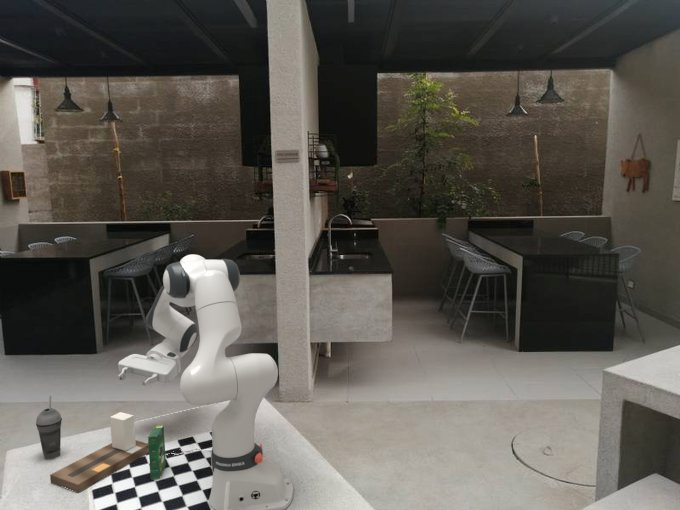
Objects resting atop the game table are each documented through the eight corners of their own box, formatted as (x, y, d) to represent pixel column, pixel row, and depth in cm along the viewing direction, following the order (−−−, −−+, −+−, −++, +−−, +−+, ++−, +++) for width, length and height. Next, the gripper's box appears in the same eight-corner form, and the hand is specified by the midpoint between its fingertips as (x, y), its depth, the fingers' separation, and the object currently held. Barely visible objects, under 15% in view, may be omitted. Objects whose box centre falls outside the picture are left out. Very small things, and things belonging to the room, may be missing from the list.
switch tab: (122, 441, 172) (120, 412, 171) (135, 445, 170) (133, 415, 168) (112, 447, 169) (109, 416, 168) (125, 450, 166) (123, 420, 165)
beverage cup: (47, 450, 173) (42, 391, 171) (69, 450, 173) (64, 391, 170) (34, 461, 166) (28, 400, 164) (56, 461, 166) (51, 400, 163)
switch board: (124, 443, 177) (123, 436, 176) (150, 451, 171) (150, 443, 171) (50, 482, 154) (50, 474, 153) (78, 493, 148) (77, 484, 148)
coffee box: (157, 465, 162) (154, 424, 161) (166, 465, 162) (164, 424, 161) (149, 480, 154) (146, 436, 153) (160, 479, 154) (157, 436, 153)
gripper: (133, 346, 186) (104, 366, 174) (183, 356, 180) (156, 378, 168) (135, 361, 189) (107, 382, 177) (184, 372, 182) (159, 395, 170)
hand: (132, 381), depth 172 cm, fingers open, 8 cm apart
